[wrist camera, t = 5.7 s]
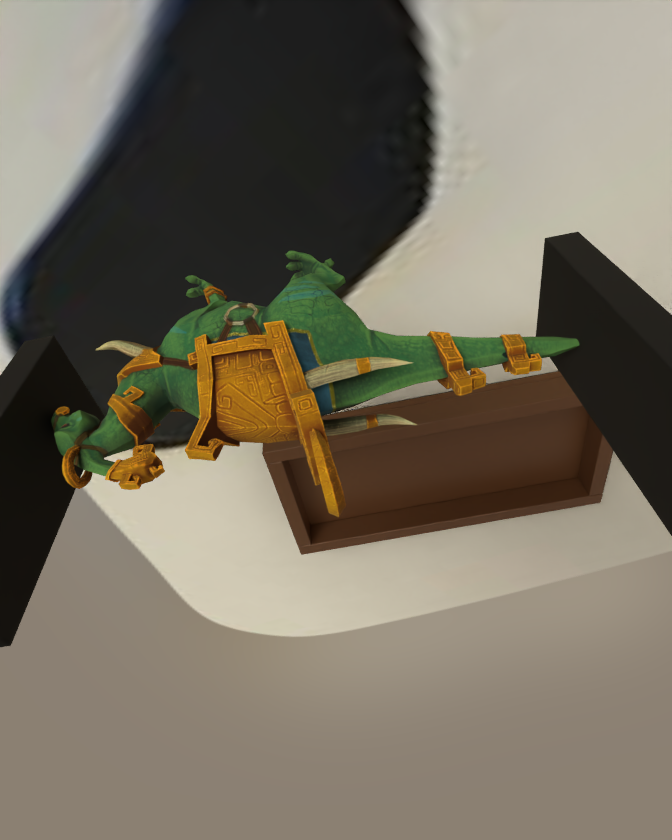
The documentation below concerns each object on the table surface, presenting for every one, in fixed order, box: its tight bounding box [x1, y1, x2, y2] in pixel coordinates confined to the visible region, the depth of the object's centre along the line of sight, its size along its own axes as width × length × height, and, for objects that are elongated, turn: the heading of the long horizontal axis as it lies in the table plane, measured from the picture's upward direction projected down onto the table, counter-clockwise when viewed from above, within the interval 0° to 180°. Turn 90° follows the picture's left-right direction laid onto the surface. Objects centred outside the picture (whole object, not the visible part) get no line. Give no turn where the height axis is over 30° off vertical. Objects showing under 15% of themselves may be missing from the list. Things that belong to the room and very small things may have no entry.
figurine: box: [51, 251, 579, 517], centre depth 12 cm, size 3×12×8 cm, turn 99°
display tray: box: [262, 371, 613, 554], centre depth 28 cm, size 9×18×2 cm, turn 100°
